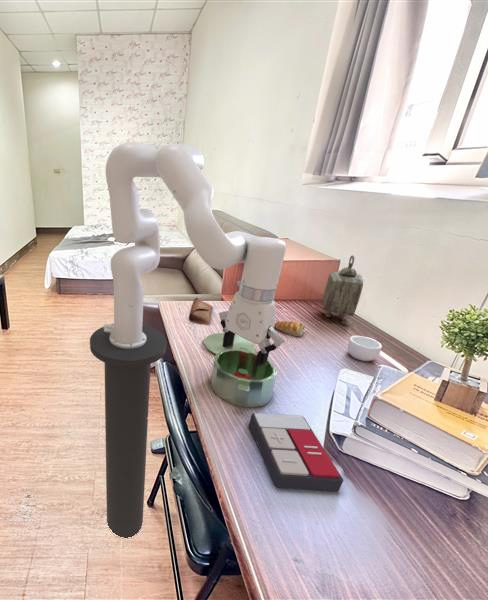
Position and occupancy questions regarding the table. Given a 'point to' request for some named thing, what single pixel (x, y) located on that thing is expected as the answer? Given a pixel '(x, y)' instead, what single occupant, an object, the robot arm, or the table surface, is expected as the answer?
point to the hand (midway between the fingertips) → (242, 354)
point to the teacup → (363, 348)
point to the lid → (216, 345)
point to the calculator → (294, 453)
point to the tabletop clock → (343, 292)
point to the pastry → (290, 327)
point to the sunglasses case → (200, 312)
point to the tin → (239, 388)
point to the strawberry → (242, 374)
